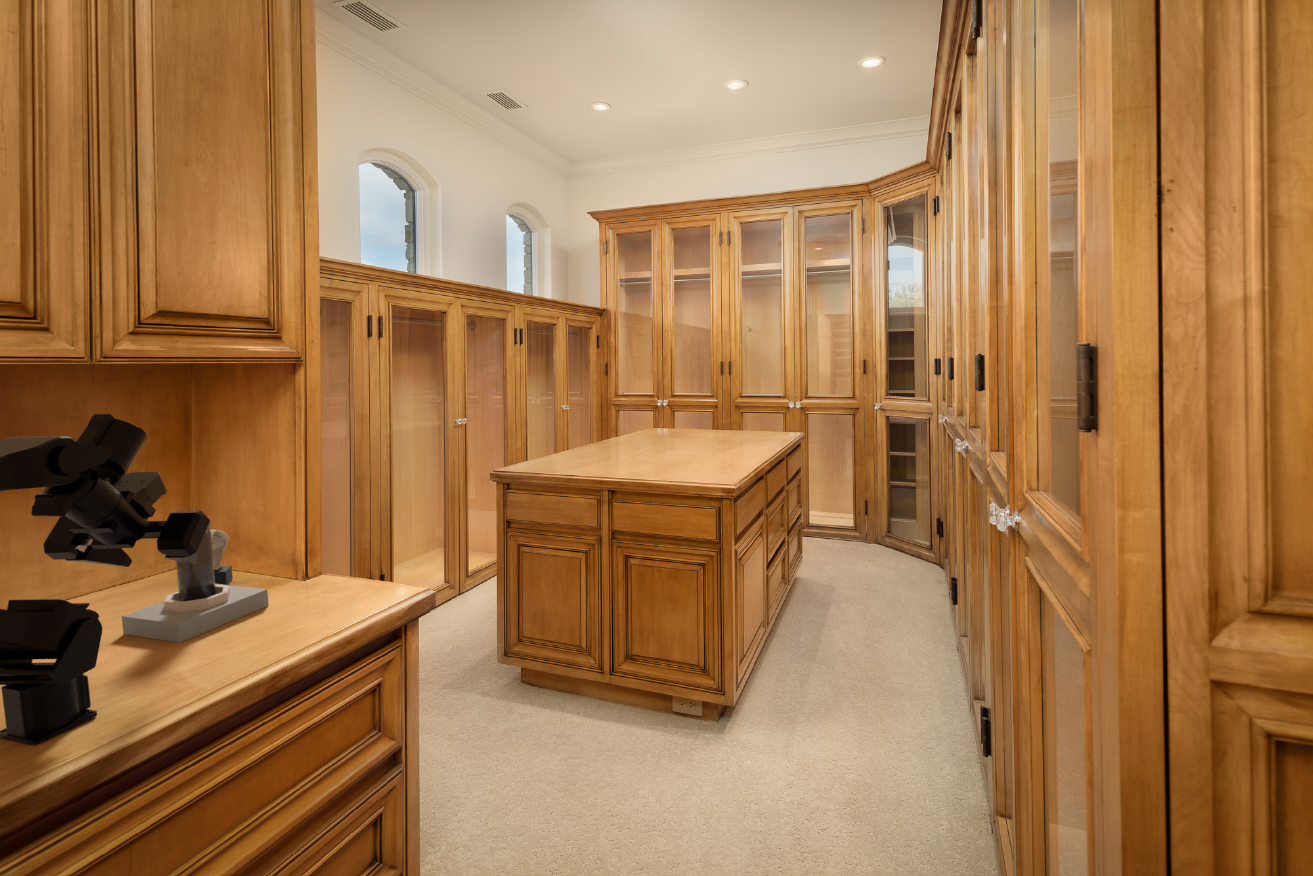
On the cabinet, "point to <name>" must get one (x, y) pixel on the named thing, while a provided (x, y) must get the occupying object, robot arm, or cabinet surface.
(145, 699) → the cabinet surface
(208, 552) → the lens
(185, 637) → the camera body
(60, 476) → the robot arm
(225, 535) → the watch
